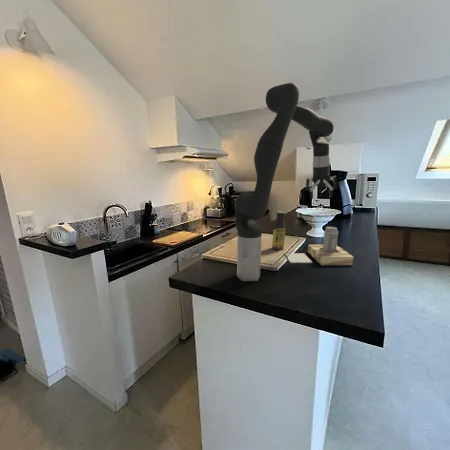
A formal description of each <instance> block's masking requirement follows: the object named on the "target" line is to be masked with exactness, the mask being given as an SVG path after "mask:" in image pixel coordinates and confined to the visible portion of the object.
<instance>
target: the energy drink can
mask: <svg viewBox="0 0 450 450" xmlns="http://www.w3.org/2000/svg"><path fill="white" fill-rule="evenodd" d="M338 237H339V230H338V228H337V227H336V226H335V227H334V226H325V229H324V232H323V241H322V242H323V243H322V245H323V252H324V253H336V248H337V246H338Z"/></svg>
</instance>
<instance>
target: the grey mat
mask: <svg viewBox="0 0 450 450" xmlns="http://www.w3.org/2000/svg"><path fill="white" fill-rule="evenodd" d="M287 260H288V262H289V264H313V263H314V262H313V261H312V260H311V259H310V258H309V257H308V256H307V254H306V253H304V252H303V253H301V252H300V253H299V252H298V253H297V252H295V253H292V254H291V255H290V256H289V258H288V259H287Z"/></svg>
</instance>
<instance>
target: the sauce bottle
mask: <svg viewBox="0 0 450 450" xmlns="http://www.w3.org/2000/svg"><path fill="white" fill-rule="evenodd" d="M275 220H276V221H275V222H274V223H273V229H272V231H273V232H272V241H271V245H272V247H271V248H272V249H273V250H275V249H282V250H284V247H285V239H286V238H285V237H286V223H285V211H276V219H275Z"/></svg>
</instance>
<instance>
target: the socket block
mask: <svg viewBox="0 0 450 450" xmlns="http://www.w3.org/2000/svg"><path fill="white" fill-rule="evenodd" d="M307 253H308V254H309V255H310V256H311V257H312V258H313V259H314V260H315V261H316V262H317V263H318V264H320V265H321V266H353V263H354V256H353V255H352V254H350V253H349V252H348V251H346V250H344V248H342V247H340V246H338V245H337V248H336V253H324V252H323V244H308V246H307Z"/></svg>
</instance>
